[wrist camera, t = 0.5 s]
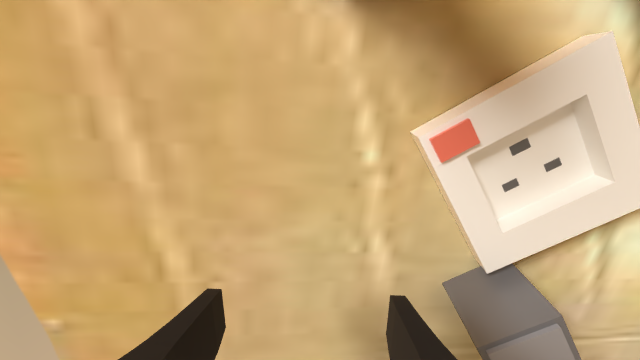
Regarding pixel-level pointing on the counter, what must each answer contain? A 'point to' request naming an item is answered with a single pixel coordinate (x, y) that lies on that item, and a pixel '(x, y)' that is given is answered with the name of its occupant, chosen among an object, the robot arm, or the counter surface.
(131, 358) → the robot arm
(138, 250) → the counter surface
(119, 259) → the counter surface
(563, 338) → the plug
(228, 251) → the counter surface
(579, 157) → the socket plate
